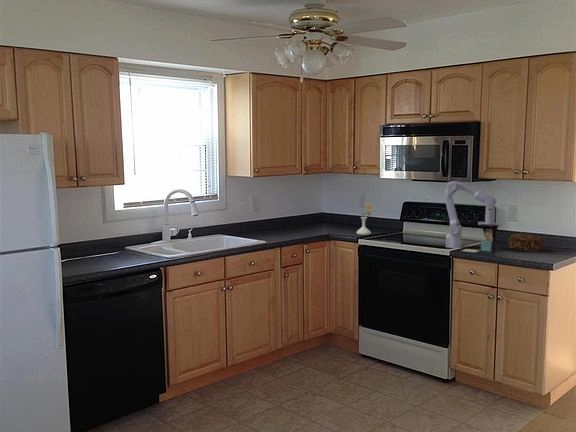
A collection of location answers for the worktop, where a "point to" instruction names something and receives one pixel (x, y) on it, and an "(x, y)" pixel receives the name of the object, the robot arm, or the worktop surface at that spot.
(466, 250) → the mat
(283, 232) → the worktop surface
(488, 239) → the brown wooden box
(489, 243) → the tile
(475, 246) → the worktop surface
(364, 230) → the flower in vase
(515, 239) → the bread
